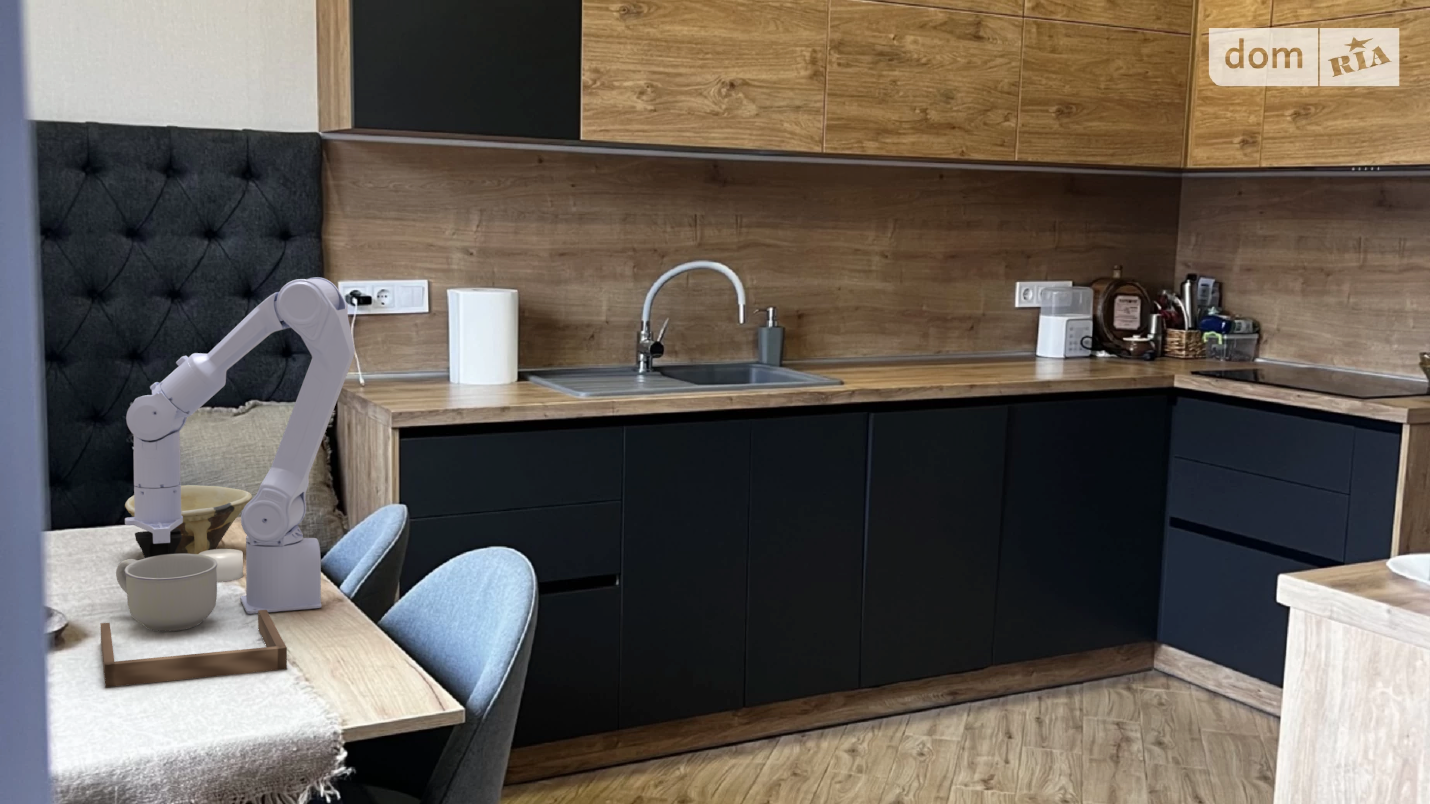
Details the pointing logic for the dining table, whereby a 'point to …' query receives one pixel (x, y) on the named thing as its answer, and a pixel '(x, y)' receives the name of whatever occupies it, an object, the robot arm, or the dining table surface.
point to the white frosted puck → (227, 563)
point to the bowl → (205, 515)
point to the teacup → (169, 590)
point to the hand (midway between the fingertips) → (159, 585)
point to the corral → (195, 660)
